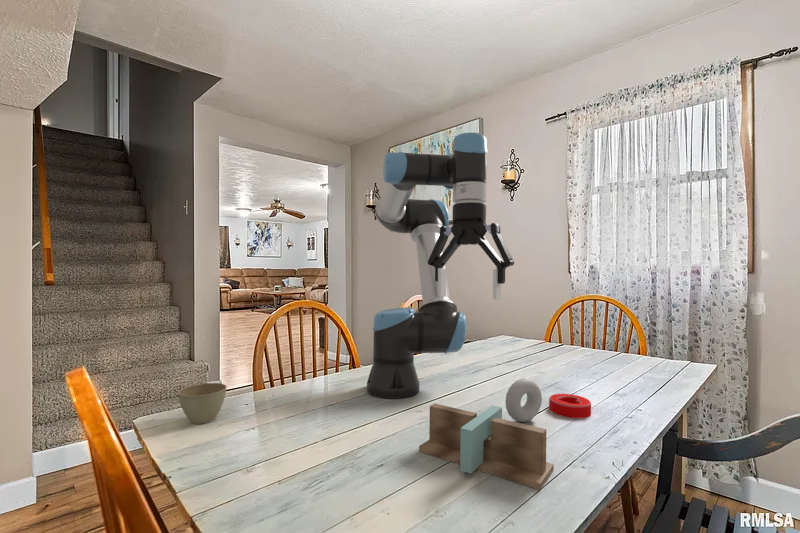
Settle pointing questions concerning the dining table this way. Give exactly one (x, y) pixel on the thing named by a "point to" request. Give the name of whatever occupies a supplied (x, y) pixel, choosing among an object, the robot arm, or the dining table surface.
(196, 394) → the olive beige bowl
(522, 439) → the jig
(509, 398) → the donut
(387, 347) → the robot arm
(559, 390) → the dining table surface
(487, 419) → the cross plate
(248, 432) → the dining table surface
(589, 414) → the decorative ornament
